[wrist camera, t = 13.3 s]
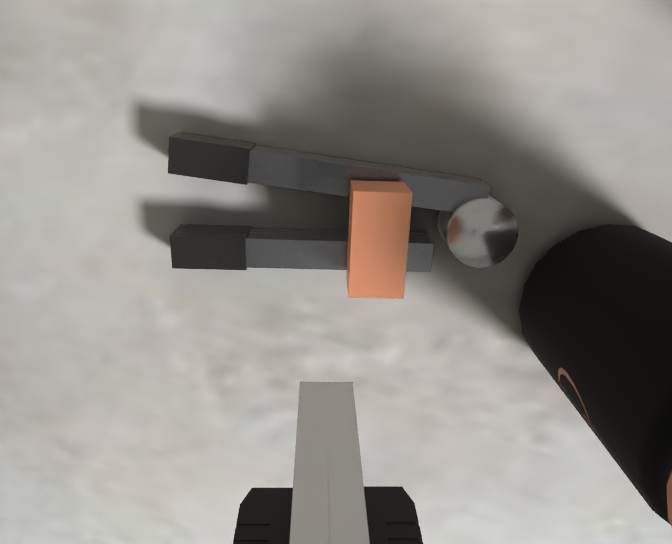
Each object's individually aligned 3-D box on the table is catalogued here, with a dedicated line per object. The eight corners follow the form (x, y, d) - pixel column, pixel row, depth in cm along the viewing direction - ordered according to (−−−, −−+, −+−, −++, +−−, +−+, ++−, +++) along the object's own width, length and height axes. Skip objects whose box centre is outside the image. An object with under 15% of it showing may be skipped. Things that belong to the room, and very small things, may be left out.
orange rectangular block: (346, 277, 32) (348, 297, 29) (350, 180, 30) (353, 191, 27) (396, 278, 32) (403, 298, 29) (404, 181, 30) (412, 193, 27)
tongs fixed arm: (183, 254, 34) (172, 268, 32) (181, 224, 34) (170, 236, 31) (423, 260, 35) (431, 274, 32) (426, 231, 34) (434, 243, 32)
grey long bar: (177, 210, 33) (162, 224, 30) (181, 132, 31) (166, 138, 28) (492, 254, 35) (508, 272, 32) (511, 181, 33) (530, 192, 30)
